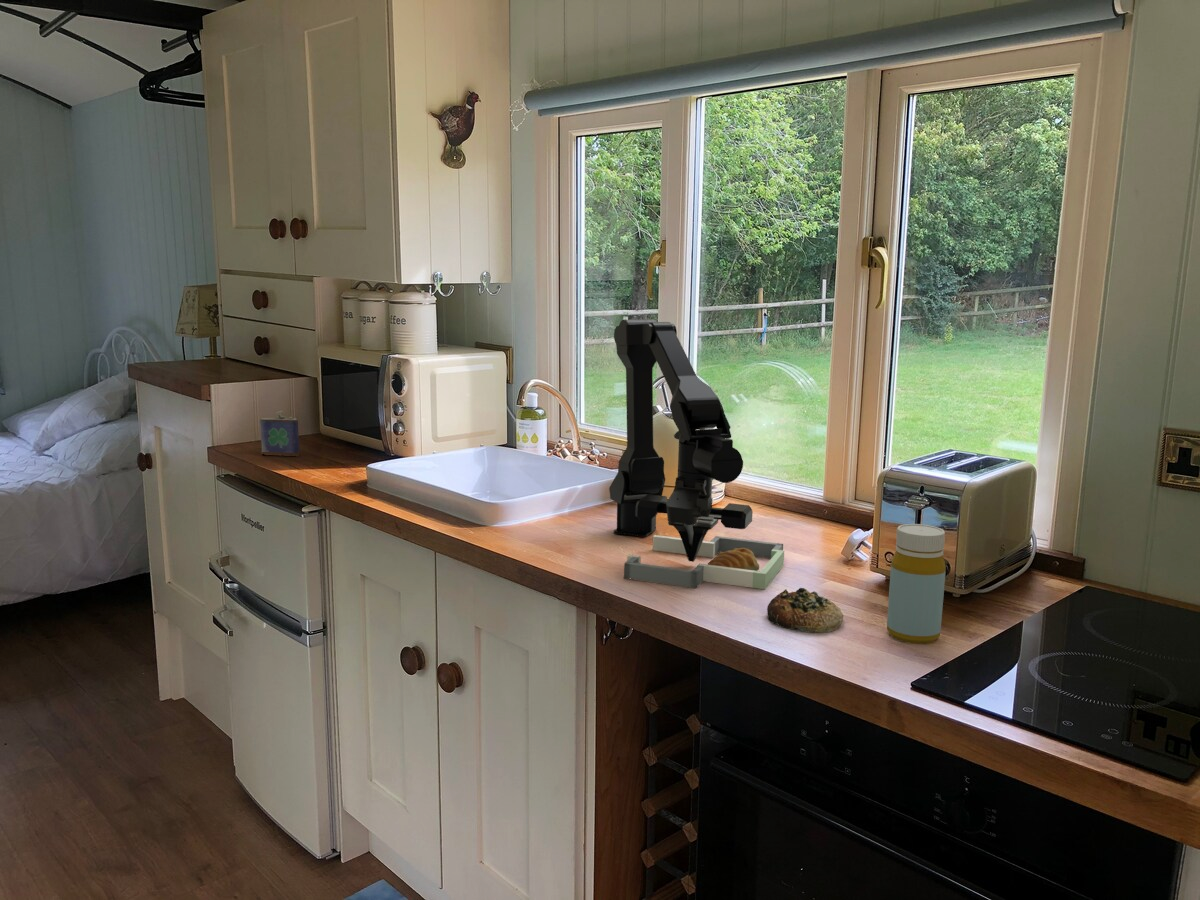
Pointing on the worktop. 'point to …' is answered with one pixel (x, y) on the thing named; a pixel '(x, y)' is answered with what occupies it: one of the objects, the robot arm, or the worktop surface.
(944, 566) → the bottle
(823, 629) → the bread roll
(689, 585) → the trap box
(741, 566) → the pastry
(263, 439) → the flask
